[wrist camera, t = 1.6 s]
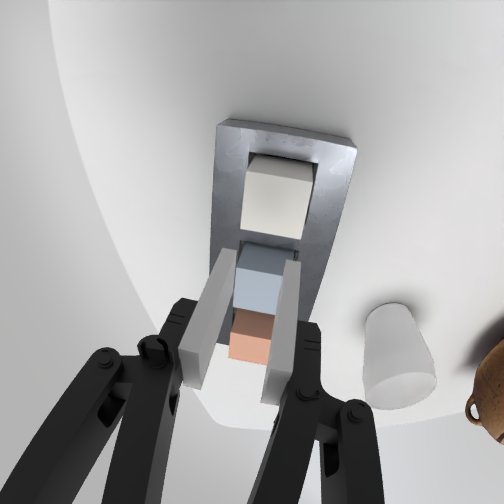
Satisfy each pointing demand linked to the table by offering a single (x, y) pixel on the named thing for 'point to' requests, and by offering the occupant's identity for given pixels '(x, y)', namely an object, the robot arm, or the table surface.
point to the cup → (396, 360)
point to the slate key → (260, 276)
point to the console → (319, 208)
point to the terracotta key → (251, 336)
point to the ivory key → (276, 196)
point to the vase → (489, 393)
